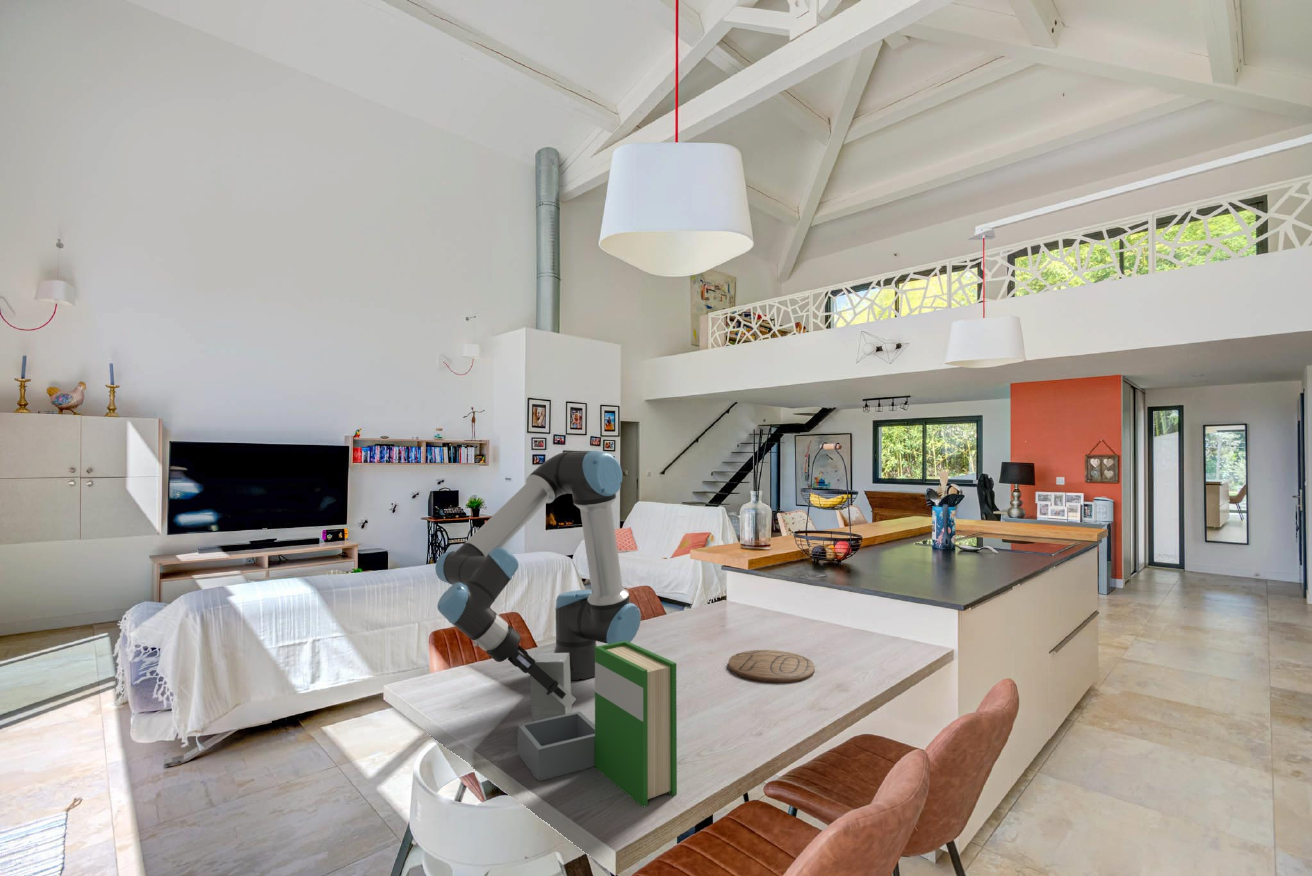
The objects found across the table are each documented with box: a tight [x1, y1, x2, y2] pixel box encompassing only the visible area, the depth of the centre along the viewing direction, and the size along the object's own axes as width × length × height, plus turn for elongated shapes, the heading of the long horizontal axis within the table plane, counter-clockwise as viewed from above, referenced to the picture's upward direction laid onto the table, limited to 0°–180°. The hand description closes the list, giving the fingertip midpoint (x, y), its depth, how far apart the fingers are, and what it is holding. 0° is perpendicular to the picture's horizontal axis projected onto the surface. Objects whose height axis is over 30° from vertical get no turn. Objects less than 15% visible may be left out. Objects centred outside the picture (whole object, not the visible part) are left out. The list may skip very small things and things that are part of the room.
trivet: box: [727, 649, 816, 685], centre depth 185 cm, size 25×25×2 cm
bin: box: [517, 711, 595, 782], centre depth 130 cm, size 13×14×6 cm
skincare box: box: [529, 652, 573, 722], centre depth 146 cm, size 8×7×16 cm
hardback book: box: [594, 641, 678, 808], centre depth 121 cm, size 18×7×24 cm, turn 35°
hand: (563, 696), depth 147 cm, fingers closed on skincare box, 9 cm apart
